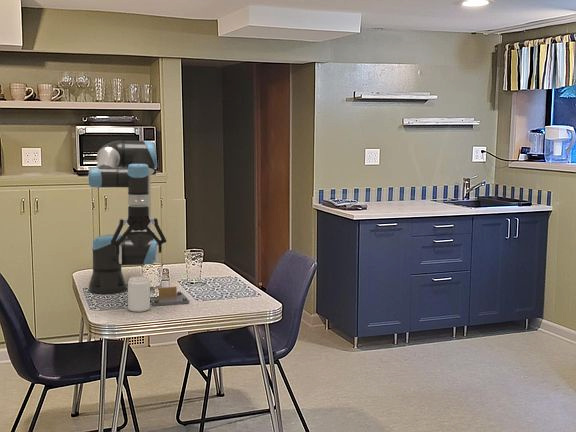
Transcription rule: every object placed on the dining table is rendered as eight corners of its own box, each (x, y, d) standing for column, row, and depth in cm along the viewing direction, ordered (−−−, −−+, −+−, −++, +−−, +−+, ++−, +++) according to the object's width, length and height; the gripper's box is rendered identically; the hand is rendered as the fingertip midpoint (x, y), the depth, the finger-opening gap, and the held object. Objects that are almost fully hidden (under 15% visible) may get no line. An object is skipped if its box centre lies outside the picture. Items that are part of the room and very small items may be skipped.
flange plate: (153, 306, 270) (153, 295, 270) (147, 297, 283) (147, 288, 283) (189, 303, 275) (189, 293, 274) (182, 295, 288) (182, 286, 287)
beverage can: (140, 306, 270) (140, 275, 268) (154, 309, 265) (154, 278, 263) (123, 309, 264) (123, 278, 262) (137, 313, 259) (137, 281, 257)
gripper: (104, 207, 252) (105, 265, 254) (174, 206, 260) (174, 262, 263) (102, 205, 259) (103, 262, 261) (170, 204, 267) (170, 259, 270)
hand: (138, 262), depth 262 cm, fingers open, 13 cm apart
